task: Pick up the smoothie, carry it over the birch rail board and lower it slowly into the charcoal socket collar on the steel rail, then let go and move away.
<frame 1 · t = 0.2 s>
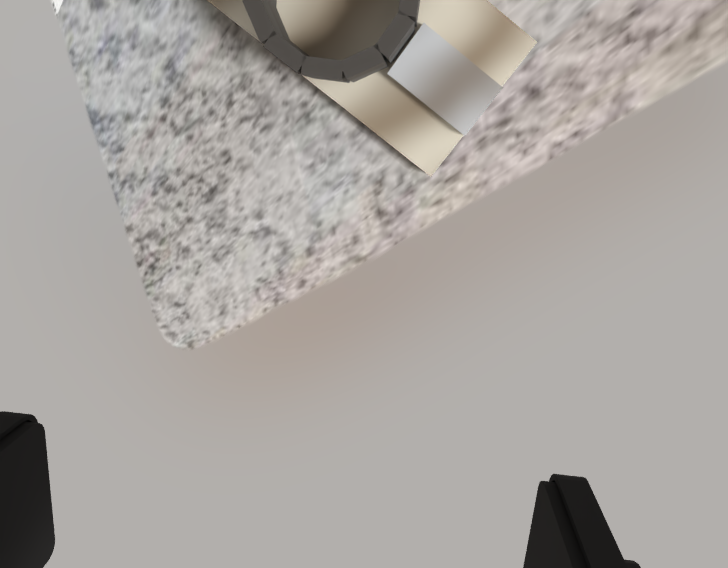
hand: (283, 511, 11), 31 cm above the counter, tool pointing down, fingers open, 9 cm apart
socket rail: (342, 1, 37), on the counter
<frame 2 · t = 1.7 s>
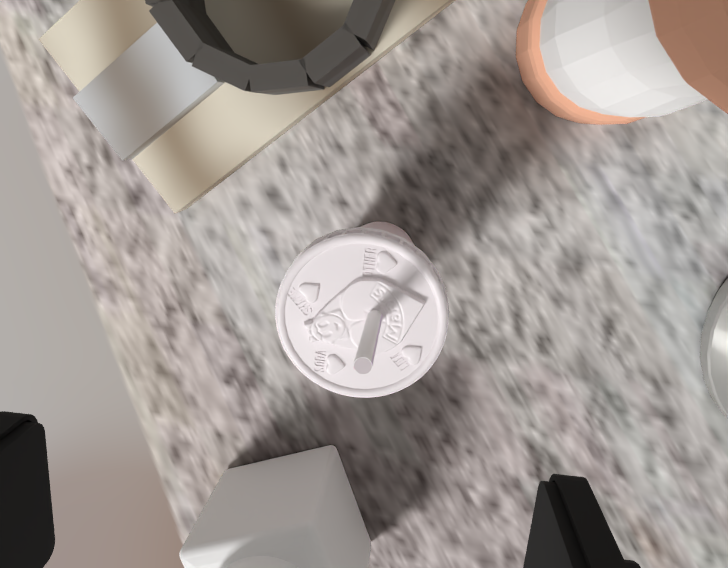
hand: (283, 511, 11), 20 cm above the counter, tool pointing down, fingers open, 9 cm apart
medicine bottle: (299, 503, 35), on the counter
pepper shaker: (596, 40, 27), on the counter
smoothie: (380, 255, 31), on the counter
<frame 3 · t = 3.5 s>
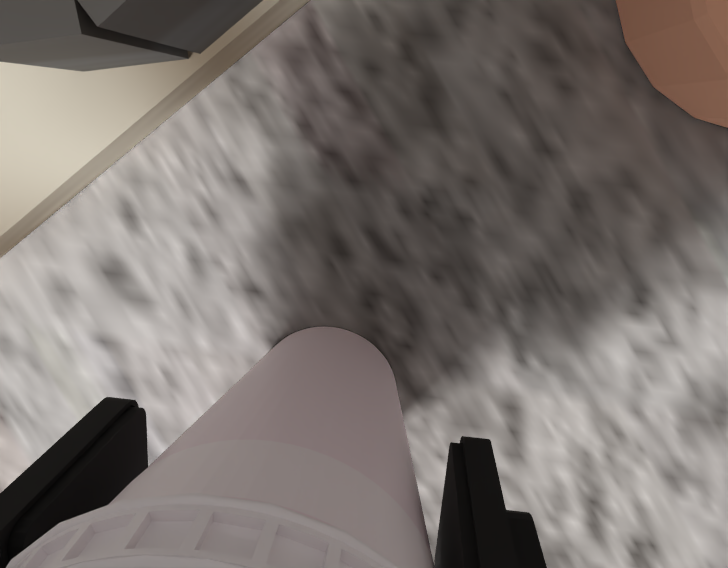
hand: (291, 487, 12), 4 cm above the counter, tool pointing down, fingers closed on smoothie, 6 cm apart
smoothie: (327, 388, 16), on the counter, touching gripper
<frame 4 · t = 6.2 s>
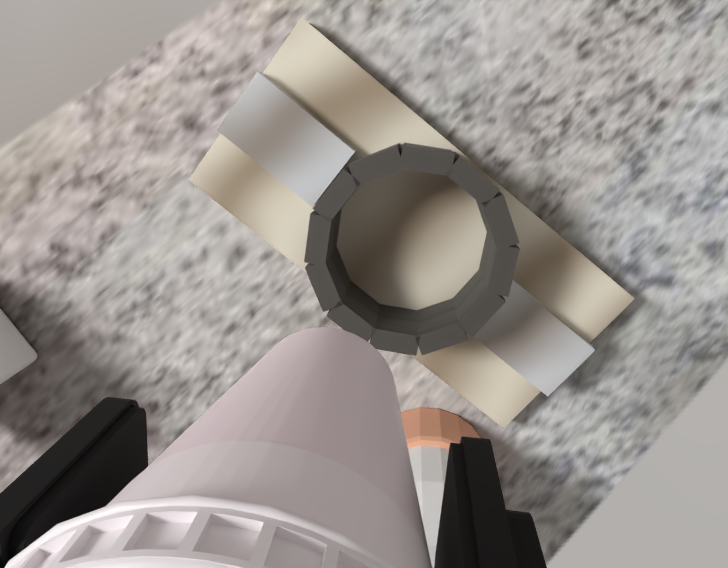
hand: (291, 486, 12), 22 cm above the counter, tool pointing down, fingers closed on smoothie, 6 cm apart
pepper shaker: (426, 459, 36), on the counter
smoothie: (326, 389, 16), point 18 cm above the counter, touching gripper
socket rail: (410, 233, 32), on the counter
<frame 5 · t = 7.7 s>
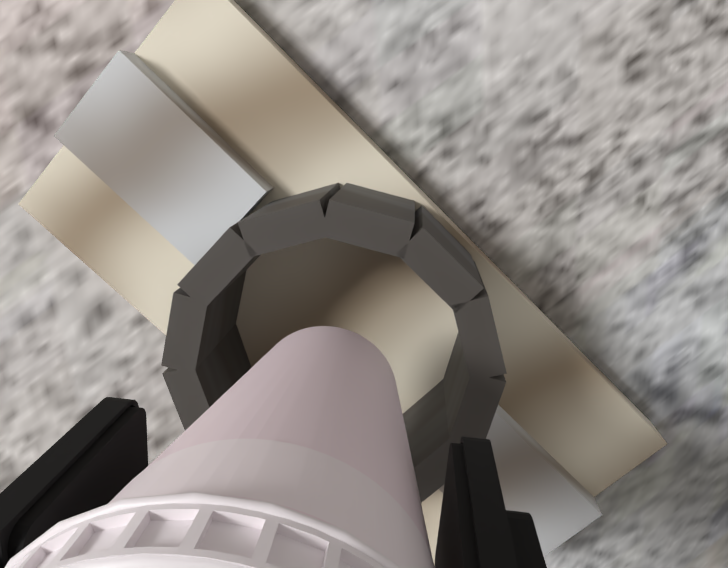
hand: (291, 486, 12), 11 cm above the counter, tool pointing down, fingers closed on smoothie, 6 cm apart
smoothie: (327, 388, 16), point 7 cm above the counter, touching gripper
socket rail: (350, 311, 22), on the counter
when the fingers open (7 cm above the counter, at t = 8.9 s): smoothie drops 2 cm, resting on socket rail.
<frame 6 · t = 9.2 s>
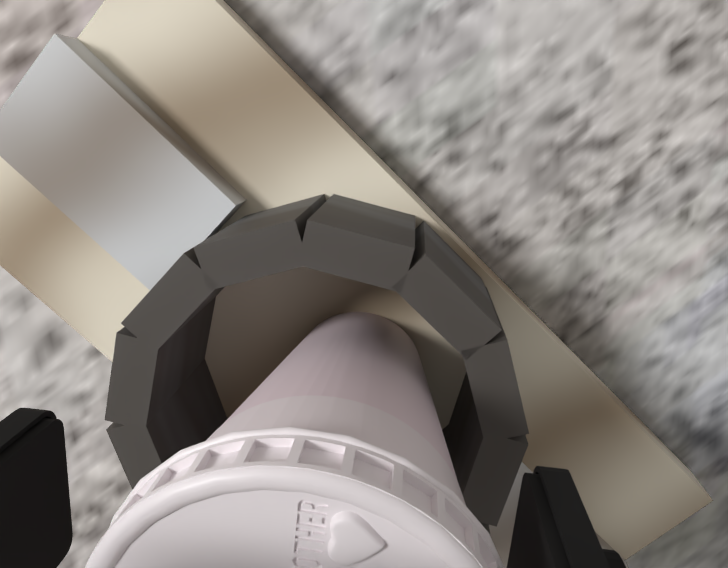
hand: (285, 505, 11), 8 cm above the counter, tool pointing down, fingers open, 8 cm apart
smoothie: (359, 367, 18), point 1 cm above the counter, touching socket rail
socket rail: (340, 342, 19), on the counter
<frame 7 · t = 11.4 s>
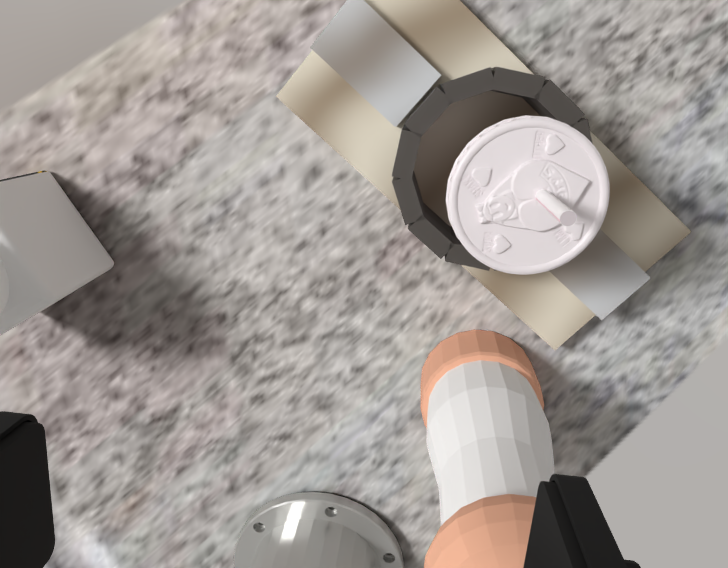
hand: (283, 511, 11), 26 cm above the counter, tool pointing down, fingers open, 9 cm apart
medicine bottle: (45, 242, 38), on the counter
pepper shaker: (476, 379, 38), on the counter
smoothie: (497, 168, 33), point 1 cm above the counter, touching socket rail
socket rail: (481, 161, 34), on the counter
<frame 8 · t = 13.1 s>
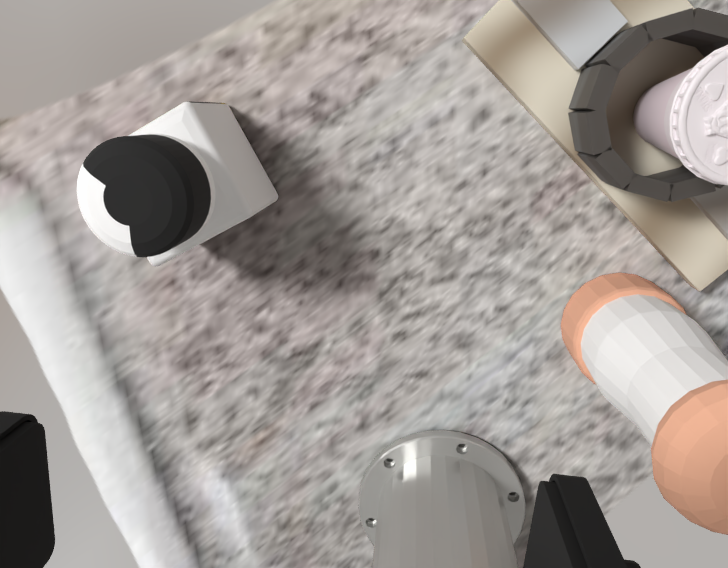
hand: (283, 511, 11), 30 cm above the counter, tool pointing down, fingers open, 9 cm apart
medicine bottle: (212, 174, 40), on the counter
pepper shaker: (614, 322, 41), on the counter
smoothie: (663, 114, 35), point 1 cm above the counter, touching socket rail
socket rail: (643, 109, 36), on the counter
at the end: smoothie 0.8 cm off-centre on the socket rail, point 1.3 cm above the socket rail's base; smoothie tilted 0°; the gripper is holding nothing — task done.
